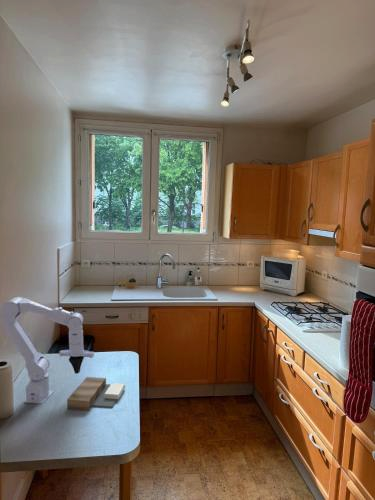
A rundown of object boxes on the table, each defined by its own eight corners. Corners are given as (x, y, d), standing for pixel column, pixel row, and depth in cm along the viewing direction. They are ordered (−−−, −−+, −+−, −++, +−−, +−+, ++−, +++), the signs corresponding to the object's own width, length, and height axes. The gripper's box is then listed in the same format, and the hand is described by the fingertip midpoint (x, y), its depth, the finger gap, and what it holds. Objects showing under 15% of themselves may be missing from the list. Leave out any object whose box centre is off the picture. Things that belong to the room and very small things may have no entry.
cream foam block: (104, 393, 142) (104, 398, 142) (118, 394, 142) (118, 399, 142) (111, 383, 151) (111, 387, 151) (124, 383, 150) (125, 388, 151)
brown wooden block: (89, 410, 135) (88, 401, 134) (67, 409, 136) (66, 399, 135) (106, 386, 153) (105, 378, 153) (86, 385, 154) (86, 376, 154)
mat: (112, 407, 137) (112, 406, 136) (92, 406, 138) (92, 405, 137) (125, 386, 153) (125, 385, 153) (106, 385, 154) (106, 384, 154)
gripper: (96, 339, 148) (97, 369, 150) (64, 337, 150) (65, 367, 151) (89, 345, 141) (90, 376, 143) (56, 343, 143) (57, 374, 144)
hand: (77, 372), depth 147 cm, fingers closed
